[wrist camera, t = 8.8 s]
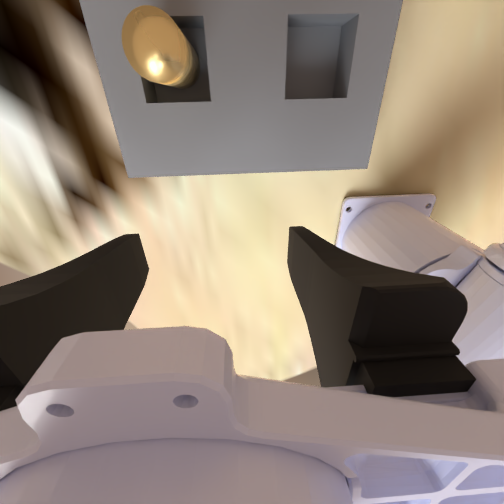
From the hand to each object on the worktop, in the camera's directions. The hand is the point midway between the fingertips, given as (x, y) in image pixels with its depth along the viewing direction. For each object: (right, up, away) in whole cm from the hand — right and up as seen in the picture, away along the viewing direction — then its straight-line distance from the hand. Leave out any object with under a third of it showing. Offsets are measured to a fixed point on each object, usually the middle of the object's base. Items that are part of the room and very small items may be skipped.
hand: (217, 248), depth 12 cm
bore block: (+1, +12, +4) cm, 13 cm away
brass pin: (-3, +11, +3) cm, 12 cm away
